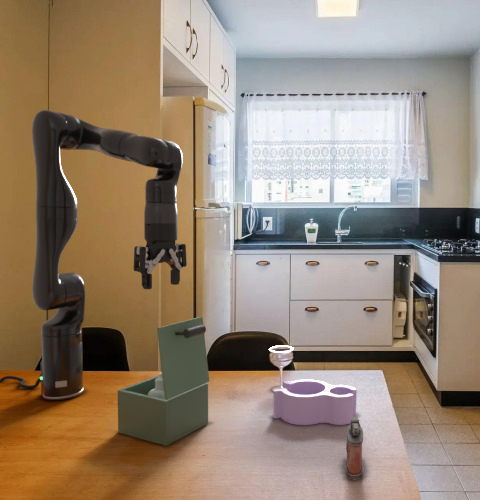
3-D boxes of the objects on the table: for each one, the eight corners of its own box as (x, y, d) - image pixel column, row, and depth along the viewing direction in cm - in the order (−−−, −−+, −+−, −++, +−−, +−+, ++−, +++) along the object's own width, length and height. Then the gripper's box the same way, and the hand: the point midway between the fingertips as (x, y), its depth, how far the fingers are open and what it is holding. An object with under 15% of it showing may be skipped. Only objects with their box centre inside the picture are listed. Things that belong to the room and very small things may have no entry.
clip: (359, 409, 128) (359, 383, 128) (348, 429, 116) (349, 401, 116) (286, 402, 132) (286, 377, 131) (268, 421, 119) (269, 394, 119)
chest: (118, 432, 112) (117, 390, 111) (162, 412, 124) (162, 373, 123) (166, 446, 106) (166, 401, 105) (208, 423, 118) (208, 383, 117)
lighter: (345, 458, 102) (346, 412, 102) (361, 458, 103) (362, 412, 102) (346, 479, 94) (347, 429, 94) (363, 479, 95) (364, 429, 94)
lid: (156, 327, 105) (174, 327, 103) (199, 316, 117) (216, 316, 115) (164, 399, 105) (182, 400, 103) (206, 381, 117) (224, 381, 115)
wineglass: (266, 387, 143) (267, 346, 142) (289, 384, 146) (290, 344, 145) (271, 395, 137) (271, 353, 136) (295, 392, 139) (295, 351, 138)
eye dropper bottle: (162, 429, 112) (162, 378, 111) (144, 424, 114) (144, 374, 113) (177, 421, 116) (176, 372, 115) (159, 417, 118) (159, 368, 117)
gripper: (172, 220, 129) (172, 282, 130) (125, 221, 116) (126, 289, 117) (194, 221, 126) (194, 284, 127) (148, 222, 113) (149, 292, 114)
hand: (161, 286), depth 122 cm, fingers open, 8 cm apart
